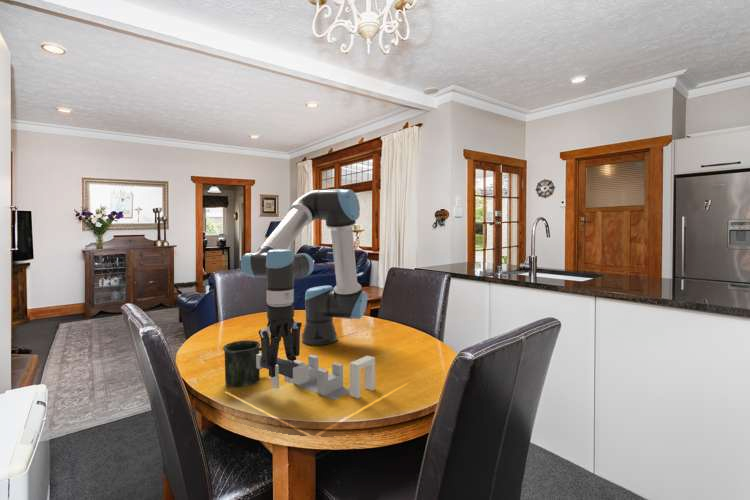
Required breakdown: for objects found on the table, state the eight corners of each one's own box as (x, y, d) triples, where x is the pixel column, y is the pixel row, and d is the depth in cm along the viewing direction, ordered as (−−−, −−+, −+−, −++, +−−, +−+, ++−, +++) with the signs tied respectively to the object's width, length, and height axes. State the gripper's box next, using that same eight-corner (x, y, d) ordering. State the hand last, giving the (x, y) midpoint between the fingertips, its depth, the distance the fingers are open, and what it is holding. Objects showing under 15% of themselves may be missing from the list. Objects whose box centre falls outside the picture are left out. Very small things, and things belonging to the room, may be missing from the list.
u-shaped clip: (349, 397, 113) (349, 362, 112) (367, 388, 119) (367, 355, 118) (357, 400, 111) (357, 365, 110) (375, 390, 117) (375, 357, 116)
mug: (219, 381, 124) (218, 344, 123) (262, 370, 133) (261, 336, 132) (231, 393, 116) (230, 353, 115) (276, 380, 125) (275, 343, 124)
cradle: (285, 381, 124) (284, 358, 123) (304, 374, 130) (304, 352, 129) (333, 402, 110) (333, 375, 109) (352, 392, 116) (352, 367, 115)
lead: (256, 367, 115) (256, 354, 115) (268, 364, 119) (267, 351, 118) (297, 384, 104) (297, 369, 103) (309, 379, 107) (308, 365, 107)
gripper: (262, 311, 101) (264, 398, 102) (312, 301, 114) (312, 378, 116) (246, 307, 106) (248, 390, 107) (295, 298, 119) (296, 372, 120)
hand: (281, 384), depth 111 cm, fingers closed on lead, 4 cm apart
